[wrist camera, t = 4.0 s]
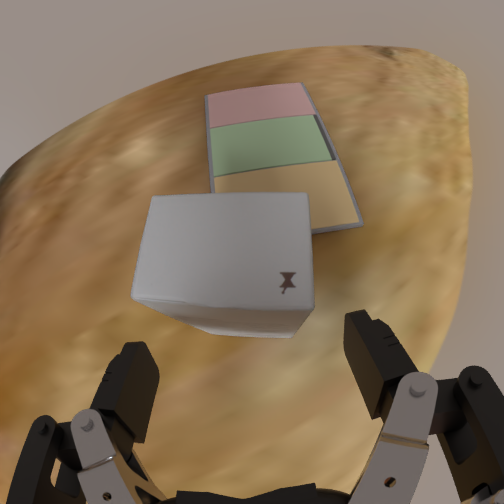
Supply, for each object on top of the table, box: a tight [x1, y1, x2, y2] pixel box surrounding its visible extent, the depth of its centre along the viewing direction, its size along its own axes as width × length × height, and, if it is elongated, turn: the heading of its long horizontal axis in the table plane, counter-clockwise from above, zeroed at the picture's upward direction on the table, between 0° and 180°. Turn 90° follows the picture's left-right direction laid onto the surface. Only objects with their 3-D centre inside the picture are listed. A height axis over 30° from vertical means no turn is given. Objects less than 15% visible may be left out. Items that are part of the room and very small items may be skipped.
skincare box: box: [131, 192, 315, 338], centre depth 14 cm, size 6×4×12 cm
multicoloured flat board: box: [205, 83, 364, 234], centre depth 25 cm, size 12×20×1 cm, turn 8°
